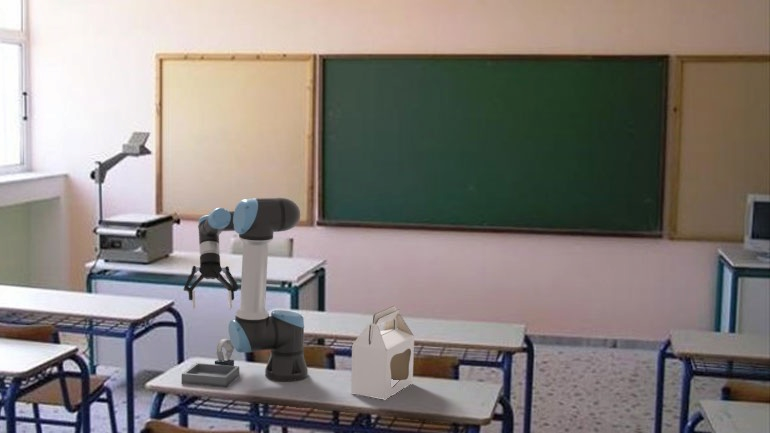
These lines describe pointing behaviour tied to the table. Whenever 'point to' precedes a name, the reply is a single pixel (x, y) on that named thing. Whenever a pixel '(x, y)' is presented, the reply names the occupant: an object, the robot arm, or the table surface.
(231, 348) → the watch
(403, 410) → the table surface
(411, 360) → the gable box
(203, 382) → the tray
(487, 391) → the table surface
